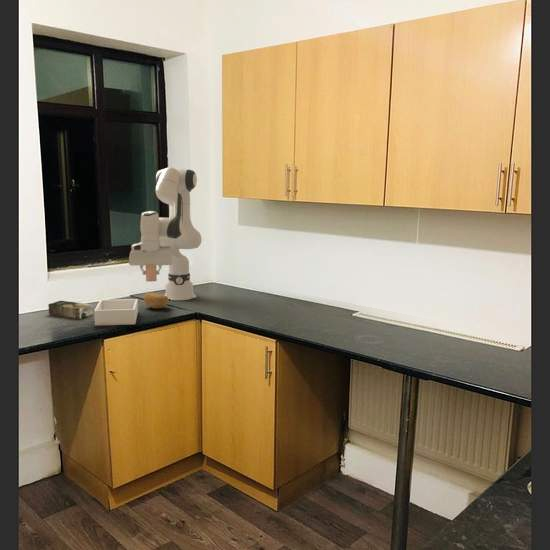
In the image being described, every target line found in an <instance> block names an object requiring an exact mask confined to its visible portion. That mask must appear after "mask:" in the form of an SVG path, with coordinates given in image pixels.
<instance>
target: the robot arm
mask: <svg viewBox="0 0 550 550" xmlns="http://www.w3.org/2000/svg"><path fill="white" fill-rule="evenodd" d="M197 182H198V177H197V173H196V172H195V171H194V170H192V169H184V168H174V167H166V168H162V169H159V170H158V171H157V172H156V175H155V184H156V186H155V195H156V197H157V199H158V200H160V202H162V203H164V204H166V205H169V214H168V215H169V217H160V216H159V213H158V212H157V211H154V210H148V211H147V210H146V211H144V212H141V217H140V233H141V236H140V237H141V238H140V242H136V243H133V244H131V247H130V248H131V250H130V252H129V256H128V265H130V266H133V267H134V266H138V267H139V268H140V270H141V272H142V276H144V275H145V276H146V270H145V269H144V266H146V265H156V266H158V268H157V269H158V270H157V269H156V275H160V271H161V269H162V267H163V266H168V275H167V277H168V278H167V279H168V280H167V282H166V283H165V294H164V295H165V296H167V297H168V299H170V300H171V301H187V300H191V299H196V298H197V295H196V294H195V293H194V285H193V282H192V281H191V273H190V260H189V259H188V257H187V256H185V255H184V254H182V253H181V251H180V250H193V249H198V248H199V247H200V245H201V244H202V241H203V239H202V235H201V233H200V232H199V231H198V230H197V228H195V227H194V225H193V222H192V220H191V192H192V190H194V189H195V188H196V186H197Z"/></svg>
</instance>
